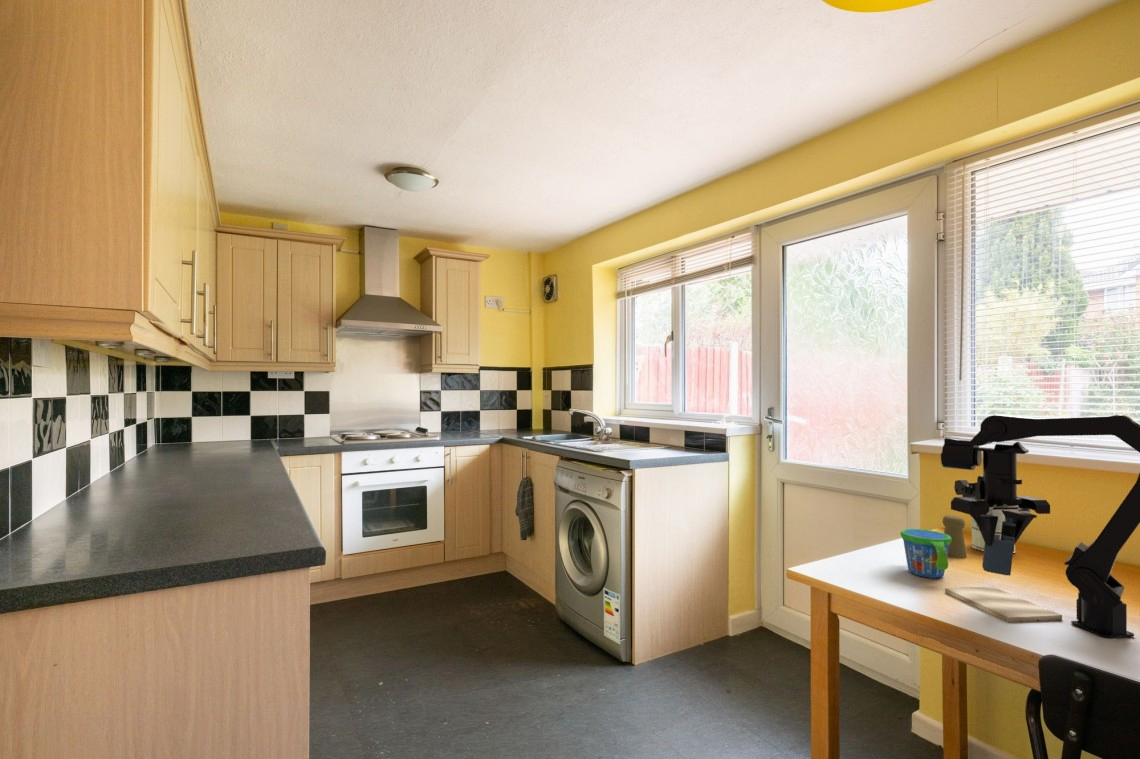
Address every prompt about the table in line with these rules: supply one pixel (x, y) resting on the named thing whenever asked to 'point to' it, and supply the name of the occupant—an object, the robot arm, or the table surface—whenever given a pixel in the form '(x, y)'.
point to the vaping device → (1000, 550)
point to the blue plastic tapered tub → (926, 552)
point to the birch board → (1003, 604)
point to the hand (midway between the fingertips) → (1000, 545)
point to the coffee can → (977, 536)
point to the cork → (955, 535)
